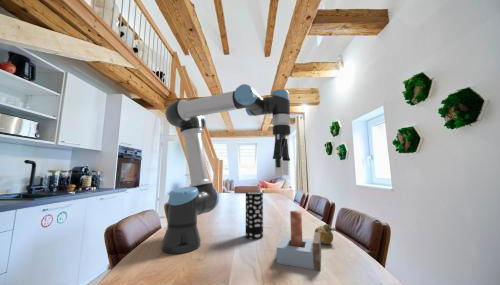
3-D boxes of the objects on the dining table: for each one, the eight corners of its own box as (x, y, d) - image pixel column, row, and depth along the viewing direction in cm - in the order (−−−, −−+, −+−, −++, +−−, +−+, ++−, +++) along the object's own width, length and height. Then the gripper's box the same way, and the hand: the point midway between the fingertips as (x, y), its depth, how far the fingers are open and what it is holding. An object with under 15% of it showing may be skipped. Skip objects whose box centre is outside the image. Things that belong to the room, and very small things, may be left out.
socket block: (276, 263, 67) (276, 247, 68) (283, 249, 79) (283, 236, 79) (313, 269, 63) (313, 252, 64) (315, 254, 74) (315, 240, 75)
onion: (325, 239, 91) (324, 220, 92) (338, 245, 84) (337, 225, 85) (311, 240, 89) (310, 222, 90) (323, 247, 81) (322, 226, 82)
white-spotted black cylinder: (265, 235, 96) (265, 192, 99) (259, 240, 89) (258, 194, 91) (250, 232, 100) (250, 191, 102) (242, 238, 92) (242, 193, 95)
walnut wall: (313, 269, 63) (312, 242, 64) (315, 254, 74) (314, 231, 75) (320, 270, 62) (319, 243, 63) (321, 255, 74) (320, 232, 75)
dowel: (290, 260, 70) (289, 212, 72) (292, 255, 73) (291, 210, 76) (302, 262, 68) (300, 213, 70) (303, 257, 72) (302, 211, 74)
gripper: (284, 118, 73) (285, 176, 70) (294, 130, 96) (295, 175, 93) (264, 119, 76) (265, 176, 73) (279, 131, 99) (279, 174, 96)
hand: (282, 175), depth 83 cm, fingers open, 13 cm apart
